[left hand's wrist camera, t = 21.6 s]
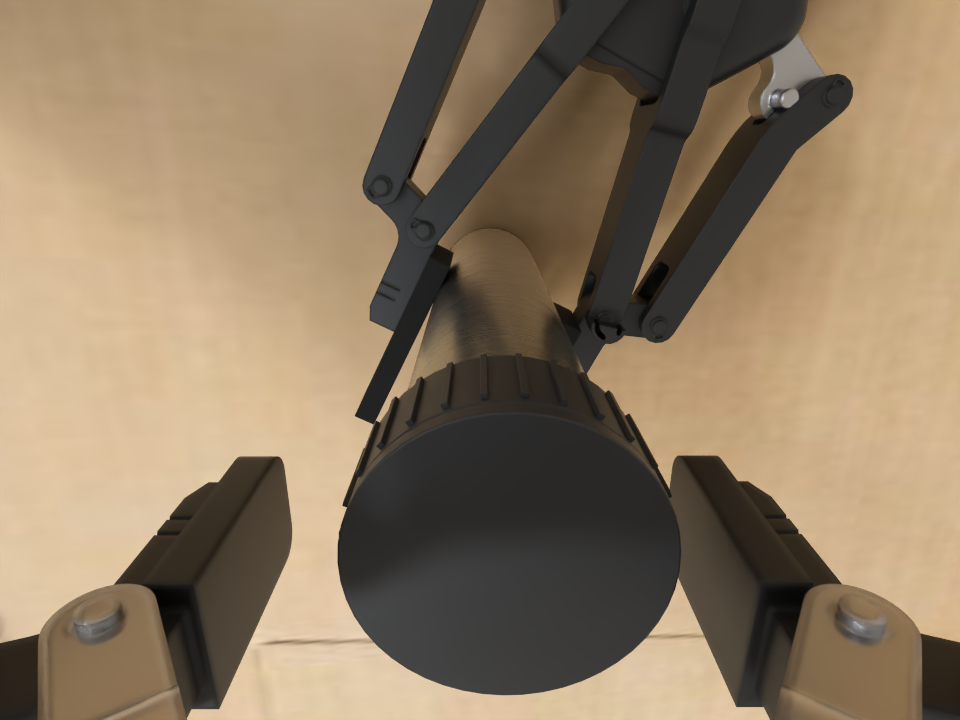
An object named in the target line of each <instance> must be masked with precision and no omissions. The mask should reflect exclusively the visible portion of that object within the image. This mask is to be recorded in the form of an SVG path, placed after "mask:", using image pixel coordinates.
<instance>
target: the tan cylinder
mask: <svg viewBox="0 0 960 720" xmlns="http://www.w3.org/2000/svg"><path fill="white" fill-rule="evenodd" d="M450 251H452V252H454V254H453V258H452V263H451V267H450V269H449V271H448V273H447V275H446V277H445V279H444V281H443V283H442V285H441V287H440V289H439V292H438V293H437V295H436V298H435V300H434V302H433V306H432V309H431V313H430V316H429V319H428V323H427V326H426V330H425V333H424V336H423V340H422V343H421V347H420V350H419V354H418V357H417V360H416V364H415V367H414V371H413V374H412V377H411V381H410V384H409V388H408V390H409V389H410V388H411V387H412V386H414V385H415V383H416V380H417V379H418V378H419V377H421V376H422V377H423V379H424V378H426V377H427V376H429V375H431V374H432V373H434V372H436V371H439V370H441V369H443V368H445V367H446V365H447V363H450V362H453V364H456V363H459V362H463V361H466V360H470V359H475V358H480V355H482V354H487V356H506V355H511V356H515V353H521V354H522V356H523V357H531V358H536V359H541V360H545V361H549V360H550V359H553V360H556V362H557V364H558V365H561V366H564V367H566V368H568V369H570V370H572V371H574V372H576V373H578V374H580V373H581V372H584V371H583V368H582V366H581V364H580V362H579V359H578V357H577V355H576V353H575V350H574V348H573V346H572V344H571V341H570V339H569V337H568V335H567V332H566V330H565V328H564V326H563V323H562V321H561V319H560V317H559V315H558V312H557V310H556V308H555V306H554V303H553V301H552V299H551V297H550V294H549V292H548V290H547V288H546V285H545V283H544V281H543V279H542V276H541V274H540V272H539V270H538V267H537V265H536V263H535V261H534V258H533V256H532V254H531V252H530V250H529V249H528V247H527V246H526V245H525V244H524V243H523V242H522V240H520V239H519V238H518V237H517V236H515V235H513V234H512V233H509V232H507V231H504V230H501V229H495V228H485V229H479V230H476V231H473V232H471V233H469V234H467V235H465V236H464V237H462V238H461V239H460V240H459V241H458V242H457V243H456V244H455V245H454V246H453V247H452V249H451V250H450Z"/></svg>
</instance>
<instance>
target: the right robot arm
mask: <svg viewBox="0 0 960 720" xmlns="http://www.w3.org/2000/svg"><path fill="white" fill-rule="evenodd" d="M485 1H486V0H433V2H432V5H431V8H430V10H429V13H428V15H427V18H426V20H425V23H424V25H423V28H422V31H421V33H420V36H419V38H418V41H417V43H416V46H415V49H414V51H413V54H412V56H411V59H410V61H409V64H408V66H407V69H406V72H405V74H404V77H403V79H402V82H401V84H400V87H399V89H398V92H397V95H396V97H395V100H394V102H393V105H392V107H391V110H390V112H389V115H388V118H387V120H386V123H385V125H384V128H383V130H382V133H381V135H380V138H379V141H378V143H377V146H376V148H375V151H374V153H373V156H372V158H371V161H370V164H369V166H368V169H367V171H366V174H365V176H364V180H363V185H362V186H363V191H364V194H365V195H366V197H367V199H368V200H369V201H371V202H372V203H374V204H376V205H378V206H379V207H380V208H381V209H382V210H383V211H384V212H385V213H386V214H387V215H388V216H389V217H390V218H391V219H392V221H393V222H394V223H395V225H396V227H397V229H398V234H399V239H398V244H397V247H396V249H395V251H394V254H393V256H392V258H391V260H390V262H389V265H388V267H387V269H386V271H385V274H384V276H383V278H382V280H381V282H380V285H379V287H378V289H377V291H376V294H375V296H374V298H373V300H372V302H371V305H370V321H372V322H374V323H376V324H379V325H381V326H383V327H385V328H387V329H389V330H391V331H394V333H393V335H392V337H391V340H390V342H389V344H388V346H387V348H386V350H385V352H384V354H383V356H382V359H381V361H380V363H379V365H378V367H377V369H376V371H375V373H374V376H373V378H372V380H371V382H370V384H369V386H368V388H367V390H366V393H365V395H364V397H363V399H362V401H361V404H360V406H359V408H358V410H357V412H356V414H355V416H356V417H358V418H360V419H363V420H365V421H367V422H369V423H372V424H374V423H375V421H376V419H377V417H378V415H379V413H380V410H381V408H382V406H383V404H384V402H385V400H386V398H387V396H388V394H389V392H390V390H391V388H392V386H393V384H394V382H395V380H396V378H397V376H398V374H399V372H400V369H401V367H402V365H403V363H404V361H405V359H406V357H407V355H408V353H409V351H410V349H411V347H412V345H413V343H414V341H415V339H416V337H417V335H418V333H419V330H420V328H421V326H422V324H423V322H424V320H425V318H426V316H427V314H428V312H429V310H430V308H431V306H432V304H433V302H434V300H435V298H436V295H437V293H438V292H439V289H440V287H441V285H442V283H443V281H444V279H445V277H446V275H447V273H448V271H449V269H450V267H451V263H452V258H453V254H454V252H452V251H450V250H448V249H445V248H443V247H441V246H439V245H437V244H438V242H439V240H440V239H441V238H442V237H443V235H444V234H445V233H446V231H447V230H448V229H449V228H450V226H451V225H452V224H453V222H454V221H455V220H456V219H457V217H458V216H459V215H460V214H461V212H462V211H463V210H464V208H465V207H466V206H467V205H468V203H469V202H470V201H471V200H472V198H473V197H474V196H475V194H476V193H477V192H478V191H479V189H480V188H481V187H482V186H483V184H484V183H485V182H486V180H487V179H488V178H489V177H490V175H491V174H492V173H493V171H494V170H495V169H496V168H497V166H498V165H499V164H500V163H501V161H502V160H503V159H504V157H505V156H506V155H507V154H508V152H509V151H510V150H511V149H512V147H513V146H514V145H515V143H516V142H517V141H518V140H519V138H520V137H521V136H522V135H523V133H524V132H525V131H526V129H527V128H528V127H529V126H530V124H531V123H532V122H533V120H534V119H535V118H536V117H537V115H538V114H539V113H540V112H541V110H542V109H543V108H544V106H545V105H546V104H547V103H548V101H549V100H550V99H551V98H552V96H553V95H554V94H555V92H556V91H557V90H558V89H559V87H560V86H561V85H562V84H563V82H564V81H565V80H566V79H567V78H568V77H569V76H570V74H571V73H572V72H573V71H574V69H575V68H576V67H577V66H578V64H579V65H581V66H583V67H585V68H586V69H588V70H592V71H596V72H601V73H605V74H609V75H612V76H613V77H614V78H615V79H616V80H617V81H618V82H619V83H620V84H621V85H622V86H623V87H624V88H625V89H626V90H627V91H628V92H629V93H630V94H632V95H634V96H635V97H637V102H636V105H635V108H634V111H633V114H632V118H631V122H630V134H629V138H628V141H627V144H626V147H625V150H624V153H623V157H622V160H621V163H620V166H619V169H618V173H617V176H616V179H615V182H614V185H613V189H612V192H611V195H610V198H609V201H608V205H607V208H606V211H605V214H604V217H603V220H602V224H601V227H600V230H599V233H598V236H597V240H596V243H595V246H594V249H593V252H592V256H591V259H590V262H589V265H588V268H587V271H586V275H585V278H584V281H583V284H582V287H581V291H580V294H579V297H578V302H577V307H576V309H575V311H574V313H573V314H572V312H571V311H570V310H568V309H566V308H564V307H562V306H560V305H558V304H556V303H554V306H555V308H556V310H557V312H558V315H559V317H560V319H561V321H562V323H563V326H564V328H565V330H566V332H567V335H568V337H569V339H570V341H571V344H572V346H573V348H574V350H575V353H576V355H577V357H578V359H579V362H580V364H581V366H582V368H583V371H584V373H586V374H587V372H588V370H589V369H590V367H591V365H592V364H593V362H594V360H595V359H596V357H597V355H598V354H599V352H600V351H601V349H602V347H603V346H604V345H605V344H611V343H615V342H617V341H619V340H620V339H621V338H622V337H623V336H634V337H643V338H646V339H647V340H649V341H651V342H654V343H659V342H664V341H666V340H668V339H669V338H670V337H671V336H672V335H673V334H674V332H675V331H676V329H677V328H678V326H679V325H680V323H681V322H682V320H683V319H684V317H685V316H686V314H687V313H688V311H689V310H690V308H691V307H692V305H693V304H694V302H695V301H696V299H697V298H698V296H699V295H700V293H701V292H702V290H703V289H704V287H705V286H706V284H707V283H708V281H709V280H710V278H711V277H712V275H713V274H714V272H715V271H716V269H717V268H718V267H719V265H720V264H721V262H722V261H723V259H724V258H725V256H726V255H727V253H728V252H729V250H730V249H731V247H732V246H733V244H734V243H735V241H736V240H737V238H738V237H739V235H740V234H741V232H742V231H743V229H744V228H745V226H746V225H747V223H748V222H749V220H750V219H751V217H752V216H753V214H754V213H755V211H756V210H757V208H758V207H759V205H760V204H761V202H762V201H763V199H764V198H765V196H766V195H767V193H768V192H769V190H770V189H771V187H772V186H773V184H774V183H775V181H776V180H777V178H778V177H779V175H780V174H781V172H782V171H783V169H784V168H785V166H786V165H787V163H788V162H789V160H790V159H791V157H792V156H793V154H794V153H795V151H796V150H797V149H798V148H799V147H801V146H802V145H803V144H804V143H806V142H807V141H808V140H809V139H810V138H812V137H813V136H814V135H815V134H816V133H818V132H819V131H820V130H821V129H822V128H824V127H825V126H826V125H827V124H829V123H830V122H831V121H832V120H833V119H835V118H836V117H837V116H838V115H839V114H841V113H842V112H843V111H844V110H845V109H846V108H847V107H848V105H849V104H850V101H851V99H852V96H853V87H852V84H851V81H850V80H849V79H848V78H847V77H846V76H843V75H840V74H835V75H829V76H826V75H825V74H824V73H823V71H822V70H821V68H820V67H819V65H818V64H817V62H816V61H815V59H814V57H813V56H812V54H811V53H810V51H809V50H808V48H807V47H806V45H805V43H804V42H803V40H802V39H801V37H800V36H799V34H798V32H799V30H800V29H801V27H802V24H803V22H804V19H805V16H806V11H807V2H808V0H553V2H554V12H555V22H556V25H555V26H554V28H553V29H552V30H551V32H550V33H549V34H548V35H547V37H546V38H545V39H544V41H543V42H542V43H541V45H540V46H539V47H538V49H537V50H536V52H535V53H534V54H533V56H532V57H531V58H530V60H529V61H528V62H527V64H526V65H525V66H524V68H523V69H522V70H521V72H520V73H519V74H518V76H517V77H516V78H515V79H514V81H513V82H512V83H511V85H510V86H509V87H508V89H507V90H506V91H505V93H504V94H503V95H502V97H501V98H500V99H499V101H498V102H497V103H496V105H495V106H494V107H493V109H492V110H491V111H490V112H489V114H488V115H487V116H486V118H485V119H484V120H483V122H482V123H481V124H480V126H479V127H478V128H477V130H476V131H475V132H474V134H473V135H472V136H471V138H470V139H469V140H468V142H467V143H466V144H465V145H464V147H463V148H462V149H461V151H460V152H459V153H458V155H457V156H456V157H455V159H454V160H453V161H452V163H451V164H450V165H449V167H448V168H447V169H446V171H445V172H444V173H443V175H442V176H441V177H440V178H439V180H438V181H437V182H436V184H435V185H434V186H433V188H432V189H431V190H430V192H429V193H428V194H427V196H426V195H425V194H424V193H423V192H422V191H421V190H420V189H419V188H418V187H417V186H416V185H415V184H414V183H413V182H412V181H411V179H412V176H413V174H414V172H415V169H416V167H417V164H418V162H419V160H420V157H421V155H422V152H423V150H424V148H425V145H426V143H427V140H428V138H429V136H430V133H431V131H432V129H433V126H434V124H435V121H436V119H437V117H438V114H439V112H440V109H441V107H442V105H443V102H444V100H445V97H446V95H447V93H448V90H449V88H450V85H451V83H452V81H453V78H454V76H455V73H456V71H457V69H458V66H459V64H460V61H461V59H462V57H463V54H464V52H465V49H466V47H467V45H468V42H469V40H470V37H471V35H472V33H473V30H474V28H475V26H476V23H477V21H478V18H479V16H480V14H481V11H482V9H483V6H484V4H485ZM758 62H759V64H760V66H761V78H760V80H759V83H758V85H757V86H756V87H755V89H754V90H753V92H752V93H751V95H750V98H749V102H748V107H749V111H750V113H751V116H750V117H749V118H748V119H747V120H746V121H745V122H744V123H743V124H742V125H741V127H740V128H739V129H738V130H737V131H736V132H735V134H734V135H733V137H732V138H731V139H730V141H729V142H728V144H727V145H726V147H725V148H724V150H723V151H722V153H721V155H720V156H719V158H718V159H717V161H716V163H715V164H714V166H713V167H712V169H711V171H710V172H709V174H708V175H707V177H706V179H705V180H704V182H703V183H702V185H701V186H700V188H699V190H698V191H697V193H696V194H695V196H694V198H693V199H692V201H691V202H690V204H689V206H688V207H687V209H686V210H685V212H684V214H683V215H682V217H681V218H680V220H679V221H678V223H677V225H676V226H675V228H674V229H673V231H672V233H671V234H670V236H669V237H668V239H667V241H666V242H665V244H664V245H663V247H662V248H661V250H660V252H659V253H658V255H657V256H656V258H655V260H654V261H653V263H652V264H651V266H650V268H649V269H648V271H647V272H646V274H645V276H644V277H643V279H642V280H641V282H640V283H639V285H638V287H637V288H636V290H635V291H634V293H633V295H632V292H633V289H634V286H635V284H636V281H637V278H638V275H639V272H640V269H641V266H642V263H643V260H644V257H645V255H646V252H647V249H648V246H649V243H650V240H651V237H652V234H653V231H654V228H655V226H656V223H657V220H658V217H659V214H660V211H661V208H662V205H663V202H664V199H665V197H666V194H667V191H668V188H669V185H670V182H671V179H672V176H673V173H674V170H675V168H676V165H677V162H678V159H679V156H680V153H681V150H682V147H683V145H684V142H685V141H686V139H687V138H688V137H689V135H690V134H691V133H692V131H693V129H694V127H695V124H696V122H697V119H698V116H699V113H700V110H701V108H702V105H703V102H704V99H705V96H706V93H707V90H708V89H709V88H711V87H713V86H714V85H716V84H718V83H720V82H722V81H724V80H726V79H728V78H729V77H731V76H733V75H735V74H737V73H739V72H741V71H743V70H744V69H746V68H748V67H750V66H752V65H754V64H756V63H758Z"/></svg>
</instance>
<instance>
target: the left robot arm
mask: <svg viewBox="0 0 960 720" xmlns="http://www.w3.org/2000/svg"><path fill="white" fill-rule="evenodd" d="M670 491H671V494H672V497H671V498H669V499H670V501H671V504H672V506H673V509H674V511H675V513H676V517H677V522H678V526H679V530H680V539H681V561H680V571H679V575H678V578H679V580H680V583H681V585H682V587H683V589H684V591H685V594H686V596H687V598H688V600H689V603H690V605H691V607H692V609H693V611H694V614H695V616H696V618H697V620H698V623H699V625H700V627H701V629H702V631H703V634H704V636H705V638H706V640H707V643H708V645H709V647H710V649H711V651H712V654H713V656H714V658H715V660H716V663H717V665H718V667H719V669H720V671H721V674H722V676H723V678H724V680H725V683H726V685H727V687H728V689H729V691H730V694H731V696H732V698H733V700H734V703H735V705H736V707H764V708H765V710H766V712H767V714H768V716H769V718H770V720H960V642H955V641H951V640H946V639H942V638H937V637H933V636H929V635H924V634H920V632H919V630H918V628H917V627H916V625H915V624H914V622H913V621H912V620H911V619H910V618H909V617H908V615H906V614H905V613H904V612H903V611H902V610H901V609H899V608H898V607H897V606H895V605H894V604H892V603H891V602H889V601H887V600H886V599H884V598H882V597H880V596H878V595H876V594H874V593H872V592H869V591H866V590H864V589H860V588H857V587H854V586H849V585H843V584H842V583H841V582H840V581H839V580H838V579H837V577H836V576H835V575H834V574H833V572H832V571H831V570H830V569H829V567H828V566H827V565H826V564H825V562H824V561H823V560H822V559H821V558H820V556H819V555H818V554H817V553H816V551H815V550H814V549H813V548H812V546H811V545H810V544H809V543H808V541H807V540H806V539H805V538H804V537H803V535H802V534H799V533H798V529H797V528H796V527H795V525H794V524H793V523H792V522H791V520H790V519H787V518H786V514H785V513H784V512H783V511H782V509H781V508H780V507H779V506H778V504H777V503H776V502H775V501H774V500H773V498H772V497H771V496H769V495H768V494H766V493H765V492H763V491H762V490H760V489H759V488H757V487H756V486H754V485H752V484H751V483H749V482H748V481H737V480H736V478H735V477H734V476H733V474H732V473H731V472H730V470H729V469H728V468H727V466H726V465H725V464H724V462H723V461H722V460H721V458H720V457H718V456H677V457H676V458H675V460H674V463H673V467H672V474H671V482H670ZM157 532H158V533H157V535H154V536H153V538H152V539H151V540H150V541H149V542H148V544H147V545H146V546H145V547H144V549H143V550H142V551H141V552H140V553H139V555H138V556H137V557H136V558H135V560H134V561H133V562H132V563H131V564H130V566H129V567H128V568H127V569H126V571H125V572H124V573H123V574H122V575H121V577H120V578H119V579H118V580H117V582H116V583H115V584H114V585H111V586H106V587H103V588H100V589H96V590H94V591H91V592H88V593H86V594H84V595H82V596H80V597H78V598H76V599H74V600H73V601H71V602H69V603H68V604H66V605H65V606H63V607H62V608H61V609H59V610H58V611H57V612H56V613H55V614H54V615H52V617H51V618H50V619H49V620H48V621H47V622H46V624H45V625H44V627H43V628H42V630H41V632H40V634H38V635H34V636H30V637H26V638H22V639H17V640H13V641H8V642H4V643H0V720H187V717H188V715H189V713H190V711H191V709H219V708H220V706H221V704H222V702H223V699H224V697H225V695H226V693H227V691H228V688H229V686H230V684H231V682H232V680H233V677H234V675H235V673H236V671H237V669H238V666H239V664H240V662H241V660H242V658H243V656H244V653H245V651H246V649H247V647H248V645H249V642H250V640H251V638H252V636H253V634H254V631H255V629H256V627H257V625H258V623H259V620H260V618H261V616H262V614H263V612H264V609H265V607H266V605H267V603H268V601H269V599H270V596H271V594H272V592H273V590H274V588H275V585H276V583H277V581H278V579H279V577H280V574H281V572H282V570H283V568H284V566H285V563H286V561H287V559H288V556H289V553H290V548H291V541H292V522H291V515H290V507H289V499H288V492H287V484H286V476H285V469H284V464H283V461H282V459H281V458H280V457H238V458H237V459H236V460H235V461H234V463H233V464H232V465H231V466H230V468H229V469H228V470H227V472H226V473H225V474H224V476H223V477H222V478H221V480H220V481H219V482H209V483H207V484H206V485H204V486H202V487H201V488H199V489H198V490H196V491H195V492H193V493H192V494H190V495H189V496H187V497H186V498H184V500H183V501H182V502H181V503H180V505H179V506H178V507H177V508H176V509H175V511H174V512H173V513H172V514H171V516H170V520H166V522H165V523H164V524H163V525H162V527H161V528H160V529H159V530H158V531H157Z"/></svg>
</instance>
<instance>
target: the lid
mask: <svg viewBox="0 0 960 720" xmlns="http://www.w3.org/2000/svg"><path fill="white" fill-rule="evenodd" d="M671 497H672V494H671V491H670V490H669V488H668V486H667V484H666V482H665V480H664V478H663V477H662V475H661V473H660V471H659V469H658V464H657V463H656V461H655V459H654V457H653V455H652V453H651V452H650V450H649V448H648V446H647V444H646V442H645V441H644V439H643V437H642V435H641V433H640V431H639V430H638V428H637V426H636V424H635V422H634V420H633V418H632V417H631V415H630V414H627V415H626V416H625V415H624V413H623V411H622V410H621V409H620V407H619V405H618V403H617V401H616V400H615V398H614V396H613V394H612V393H611V392H610V391H609V390H608V391H607V392H606V393H605V392H604V391H603V390H602V389H601V388H600V387H599V386H597V385H596V384H594V383H593V382H591V381H590V380H589V378H588V376H587V374H586V373H584V372H581V373H580V374H578V373H576V372H574V371H572V370H570V369H568V368H566V367H564V366H561V365H558V364H557V362H556V360H553V359H550V360H549V361H545V360H541V359H536V358H531V357H523V356H522V354H521V353H515V356H511V355H506V356H487V354H482V355H480V358H475V359H470V360H466V361H463V362H459V363H456V364H453V362H450V363H447V365H446V367H445V368H443V369H441V370H439V371H436V372H434V373H432V374H431V375H429V376H427V377H426V378H424V379H423V377H422V376H421V377H419V378H418V379H417V380H416V383H415V385H414V386H412V387H411V388H410V389H409V390H407V391H406V392H405V393H404V394H403V395H402V396H401V397H400V398H399V399H398V398H397V397H394V398H393V399H392V401H391V404H390V407H389V410H388V412H387V413H386V414H385V416H384V417H383V419H382V420H381V422H378V421H376V422H375V424H374V425H373V428H372V431H371V433H370V436H369V439H368V441H367V444H366V446H365V448H364V449H363V452H362V454H361V457H360V459H359V462H358V465H357V467H356V470H355V473H354V475H353V478H352V480H351V483H350V486H349V488H348V491H347V494H346V496H345V499H344V502H343V506H344V507H347V509H346V512H345V515H344V518H343V521H342V524H341V528H340V531H339V540H338V568H339V575H340V581H341V585H342V588H343V591H344V594H345V597H346V600H347V602H348V604H349V606H350V609H351V611H352V613H353V615H354V617H355V618H356V620H357V621H358V623H359V624H360V625H361V627H362V628H363V630H364V631H365V633H366V634H367V635H368V636H369V637H370V638H371V639H372V640H373V642H374V643H375V644H376V645H377V646H378V647H379V648H380V649H382V650H383V651H384V652H385V653H386V654H387V655H389V656H390V657H391V658H392V659H394V660H395V661H397V662H398V663H400V664H401V665H403V666H404V667H405V668H407V669H409V670H411V671H413V672H414V673H416V674H418V675H420V676H422V677H424V678H426V679H429V680H431V681H434V682H437V683H439V684H442V685H445V686H448V687H452V688H456V689H459V690H463V691H469V692H475V693H481V694H493V695H524V694H532V693H539V692H545V691H550V690H554V689H559V688H563V687H566V686H569V685H572V684H575V683H578V682H581V681H583V680H585V679H588V678H590V677H592V676H594V675H596V674H598V673H601V672H602V671H604V670H606V669H607V668H609V667H611V666H612V665H614V664H616V663H617V662H619V661H620V660H621V659H622V658H624V657H625V656H626V655H628V654H629V653H630V652H632V651H633V650H634V649H635V648H636V647H637V646H638V645H639V644H640V643H641V642H642V641H643V640H644V639H645V638H646V637H647V636H648V635H649V633H650V632H651V631H652V630H653V628H654V627H655V626H656V625H657V623H658V622H659V620H660V619H661V617H662V615H663V614H664V612H665V610H666V609H667V607H668V605H669V602H670V600H671V598H672V595H673V593H674V590H675V587H676V583H677V579H678V575H679V571H680V561H681V539H680V530H679V526H678V522H677V517H676V513H675V511H674V509H673V506H672V504H671V501H670V499H669V498H671Z"/></svg>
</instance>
